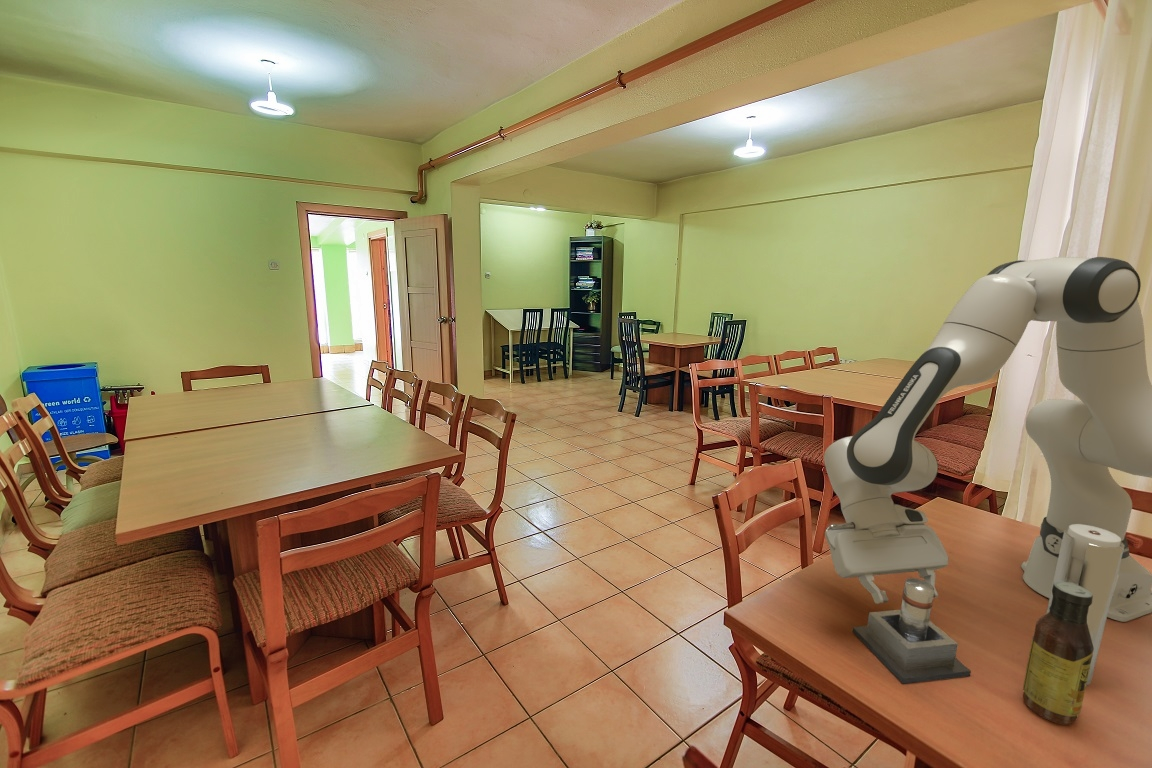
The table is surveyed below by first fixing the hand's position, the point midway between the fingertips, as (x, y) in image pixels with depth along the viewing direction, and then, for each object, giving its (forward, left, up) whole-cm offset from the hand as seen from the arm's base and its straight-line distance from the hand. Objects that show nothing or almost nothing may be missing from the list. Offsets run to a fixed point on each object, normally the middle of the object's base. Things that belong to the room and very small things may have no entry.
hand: (907, 600), depth 85 cm
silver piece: (-22, +9, -9) cm, 25 cm away
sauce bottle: (-12, +15, -9) cm, 21 cm away
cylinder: (0, +2, -8) cm, 8 cm away
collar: (0, +2, -9) cm, 9 cm away
